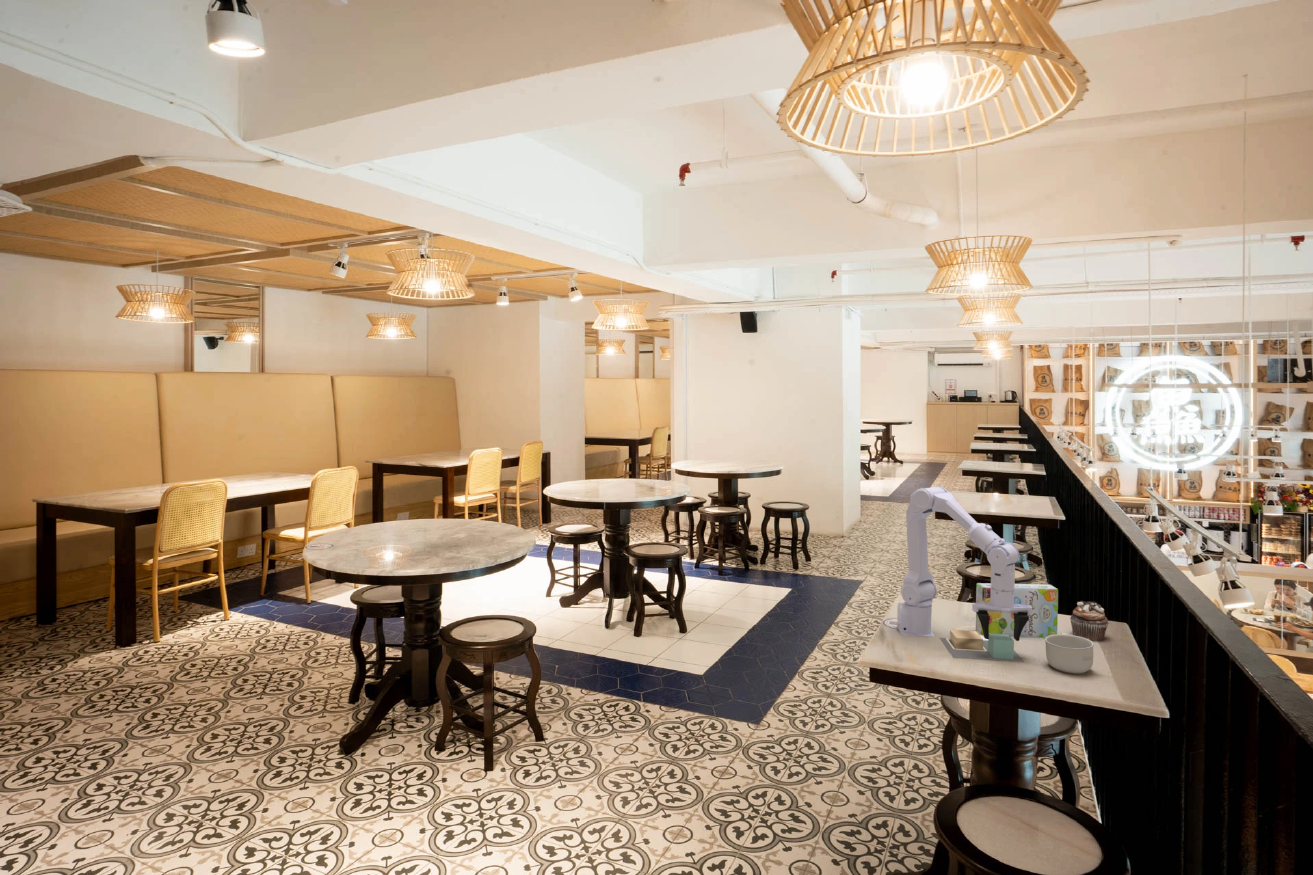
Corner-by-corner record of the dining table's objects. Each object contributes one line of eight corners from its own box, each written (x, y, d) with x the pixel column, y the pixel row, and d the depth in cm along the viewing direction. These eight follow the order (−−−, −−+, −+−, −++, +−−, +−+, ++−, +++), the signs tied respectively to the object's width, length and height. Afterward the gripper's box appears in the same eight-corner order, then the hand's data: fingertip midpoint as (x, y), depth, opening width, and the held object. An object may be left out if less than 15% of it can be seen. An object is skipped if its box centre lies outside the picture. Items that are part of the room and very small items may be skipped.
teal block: (993, 658, 188) (993, 639, 188) (987, 651, 193) (988, 633, 193) (1013, 659, 187) (1014, 640, 187) (1007, 652, 192) (1007, 634, 192)
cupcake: (1062, 630, 212) (1064, 597, 212) (1095, 631, 212) (1096, 598, 211) (1080, 641, 203) (1082, 607, 202) (1115, 642, 202) (1116, 607, 202)
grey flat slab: (953, 659, 188) (953, 657, 188) (939, 639, 204) (939, 637, 204) (1025, 664, 185) (1025, 661, 185) (1006, 643, 201) (1006, 641, 201)
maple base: (956, 648, 195) (956, 637, 195) (949, 639, 202) (950, 629, 202) (982, 649, 194) (983, 639, 194) (975, 641, 201) (976, 631, 201)
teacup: (1092, 682, 174) (1093, 650, 173) (1042, 672, 180) (1043, 642, 179) (1092, 664, 186) (1094, 634, 185) (1046, 656, 191) (1046, 627, 191)
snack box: (1048, 633, 210) (1050, 583, 209) (1057, 640, 204) (1059, 588, 203) (974, 631, 212) (976, 581, 211) (981, 637, 206) (982, 586, 205)
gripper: (977, 591, 186) (976, 642, 187) (1037, 594, 184) (1035, 645, 184) (970, 584, 193) (969, 633, 194) (1027, 587, 191) (1026, 636, 191)
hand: (1001, 638), depth 190 cm, fingers open, 7 cm apart
